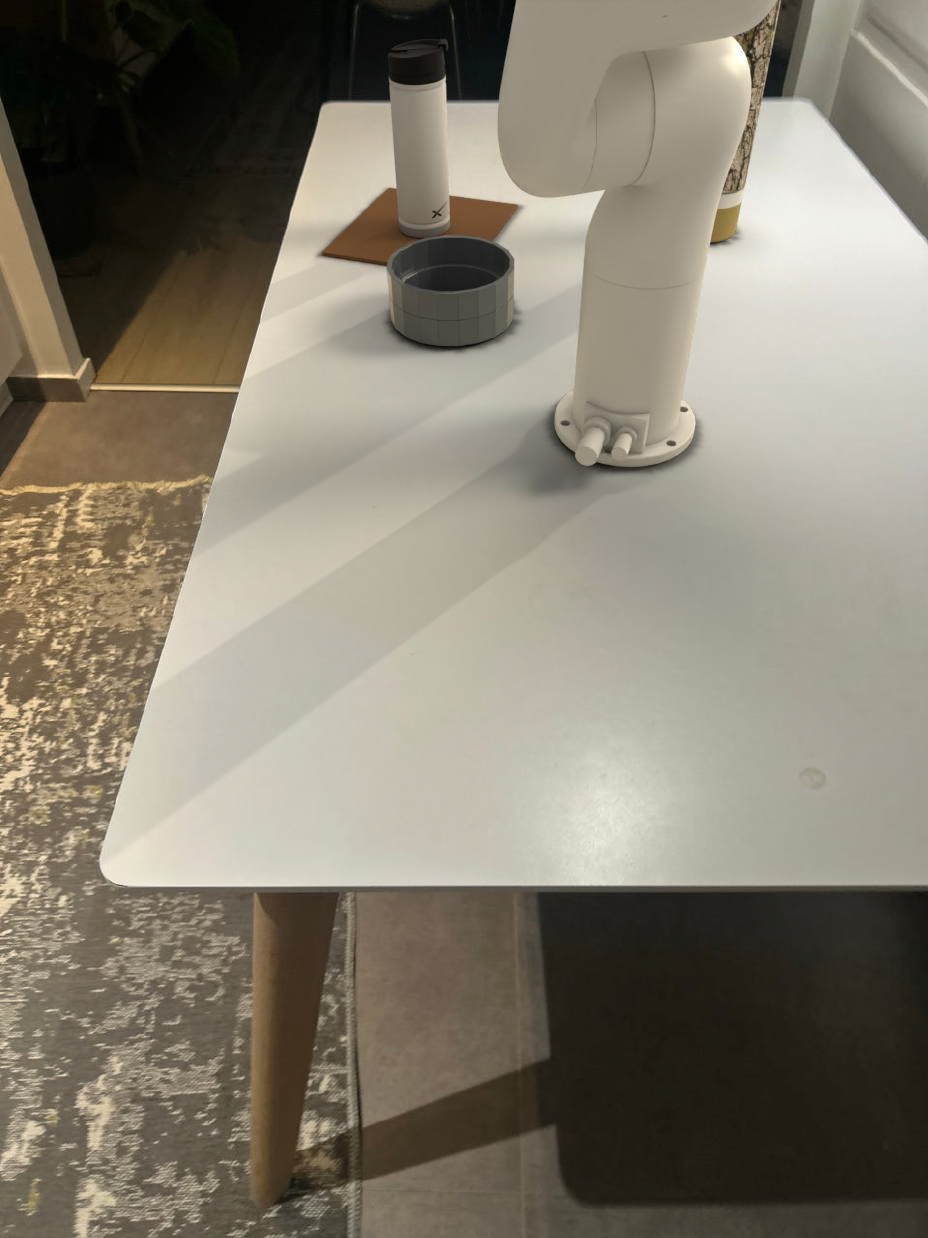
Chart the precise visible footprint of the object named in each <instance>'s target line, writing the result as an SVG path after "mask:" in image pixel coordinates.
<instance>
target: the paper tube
mask: <svg viewBox="0 0 928 1238" xmlns="http://www.w3.org/2000/svg"><path fill="white" fill-rule="evenodd" d="M781 3H782V0H777V1H776V3H775V5H774V6H773V8H772V9H771V11H770V12H769V13H768V14H767V16H766V17H765V18H764V19H763V20H762V21H761V22H760V23H759V24H758V25H756V26H755V27H753V28H752V29H750V30H748V31H746V32H743V33H741V34H738V35H735V36H732V37H733V38H734V39H735V40H736V41H737V42H738V43H739V45H740V46H741V47H742V49H743V51H744V53H745V55H746V57H747V61H748V64H749V68H750V74H751V101H750V108H749V113H748V117H747V121H746V125H745V128H744V131H743V134H742V137H741V140H740V143H739V146H738V148H737V151H736V154H735V156H734V159H733V161H732V164H731V167H730V169H729V172H728V175H727V178H726V181H725V184H724V187H723V190H722V194H721V197H720V200H719V204H718V208H717V212H716V217H715V221H714V226H713V231H712V236H711V241H710V243H718V242H723V241H726V240H729V238H732V236H733V235H735V233H736V231H737V228H738V223H739V217H740V212H741V207H742V203H743V202H742V201H743V198H744V192H745V189H746V188H745V187H746V183H747V178H748V173H749V168H750V163H751V157H752V152H753V146H754V142H755V138H756V137H755V136H756V132H757V126H758V122H759V116H760V112H761V106H762V100H763V95H764V90H765V86H766V81H767V76H768V70H769V66H770V60H771V56H772V50H773V44H774V40H775V34H776V29H777V25H778V19H779V14H780V10H781Z"/></svg>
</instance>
